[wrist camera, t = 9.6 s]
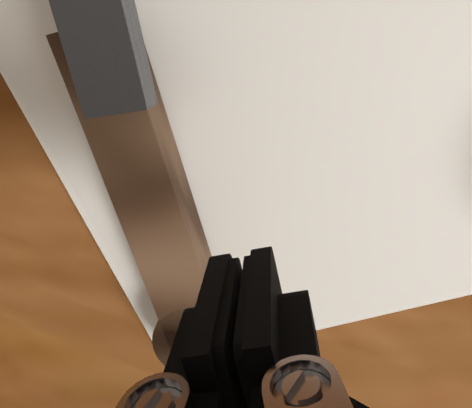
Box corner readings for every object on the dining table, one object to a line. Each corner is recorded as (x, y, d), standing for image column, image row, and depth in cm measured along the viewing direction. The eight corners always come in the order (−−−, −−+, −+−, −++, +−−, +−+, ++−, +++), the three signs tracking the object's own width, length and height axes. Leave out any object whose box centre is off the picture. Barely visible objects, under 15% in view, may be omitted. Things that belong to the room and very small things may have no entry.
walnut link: (254, 343, 25) (248, 411, 21) (177, 353, 26) (157, 420, 21) (154, 8, 18) (115, 6, 14) (55, 38, 19) (-12, 44, 15)
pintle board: (171, 347, 28) (165, 365, 27) (-17, 5, 20) (-38, 4, 19) (534, 260, 23) (550, 276, 22) (463, -238, 15) (481, -263, 14)
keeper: (179, 87, 20) (147, 109, 15) (130, 95, 20) (84, 119, 15) (144, -81, 17) (92, -117, 12) (88, -68, 17) (18, -99, 13)
